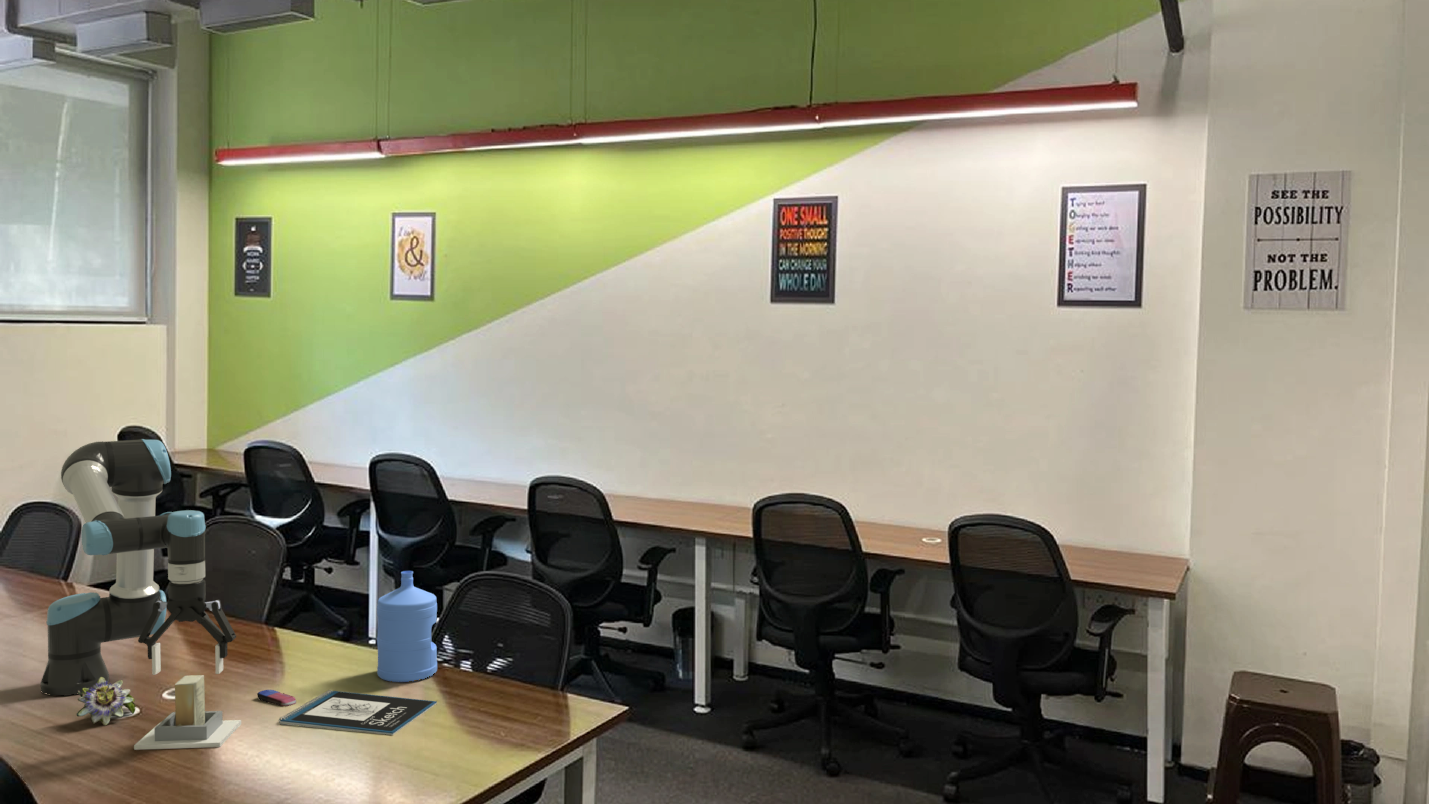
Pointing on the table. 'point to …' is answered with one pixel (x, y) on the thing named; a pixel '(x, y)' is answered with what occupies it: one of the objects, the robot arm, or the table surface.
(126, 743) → the table surface
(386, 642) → the water jug
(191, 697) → the skincare box
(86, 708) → the passion flower
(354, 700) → the sketchbook
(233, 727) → the socket board
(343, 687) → the table surface
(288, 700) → the eraser
